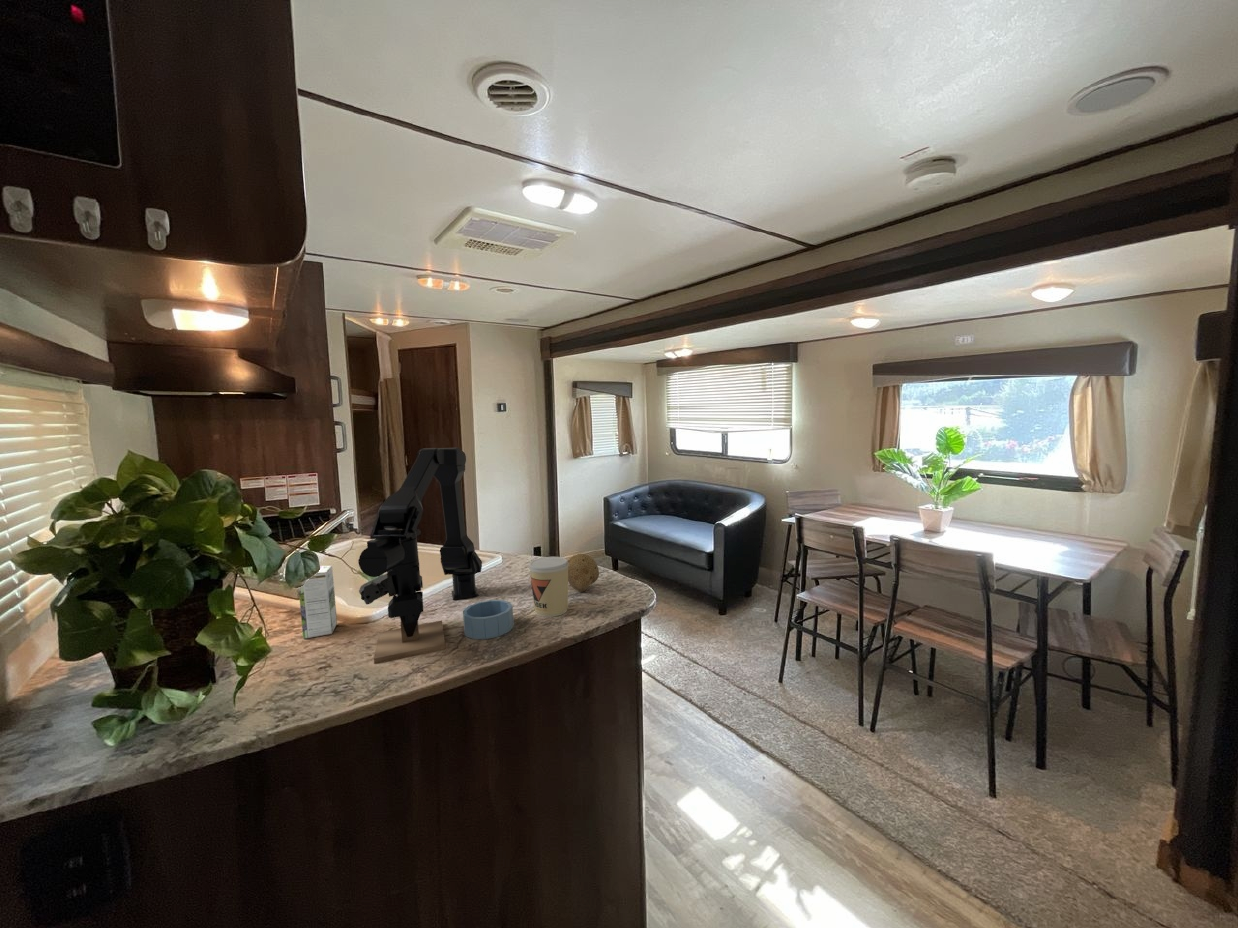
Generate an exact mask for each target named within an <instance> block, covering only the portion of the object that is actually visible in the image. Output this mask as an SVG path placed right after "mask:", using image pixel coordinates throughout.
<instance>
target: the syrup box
mask: <svg viewBox="0 0 1238 928" xmlns="http://www.w3.org/2000/svg"><path fill="white" fill-rule="evenodd" d="M319 566H320V570H319V572H318V573H317V574H316V575H314V576H313V577H312V578H310V579H309V580H308V581H307V582H306V583H305V584H304V585H303V586H301V587H298V597H299V606H300V607H299V608H300V609H299V610H300V617H301V619H300V620H301V629H302V632H301V633H302V639H311V638H317V637H323V636H326V635H333V633H334V631H335V628H336V627H337V625H338V617H337V606H336V595H335V594H336V593H335V583H334V572H333V570H334V569H333V565H319Z"/></svg>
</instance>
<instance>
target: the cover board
mask: <svg viewBox="0 0 1238 928" xmlns="http://www.w3.org/2000/svg"><path fill="white" fill-rule="evenodd" d="M443 625H444V624H443V620H437V621H433V622H426V623H421V624H419V621H418V622H417V625H416V628H415V631H414V634H413V636H412V637H407V635H406V632H405V630H404V627H403V624H402V621H401V620H400V628H399V627H398V628H395V629H389V630H384V631H379V632H378V636H377V640H376V645H375V650H374V656H373V664H380V663H384V662H388V661H393V660H398V659H403V658H408V657H413V656H416V655H417V656H419V655H421V654H426V653H427V654H428V653H431V652H436V651H442V650H445V649H446V643H445V634H444V626H443Z"/></svg>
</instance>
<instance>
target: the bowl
mask: <svg viewBox="0 0 1238 928" xmlns="http://www.w3.org/2000/svg"><path fill="white" fill-rule="evenodd" d="M513 610H514V608H513V604H512V603H511V602H510V601H507V600H504V599H489V600H482V601H478V602H475V603H472V604H470V605H468V606H467V607H465V609H463V610H462V617H463V618H462V619H463V632H464V636H465V637H467V638H470V639H473V640H488V639H489V640H490V639H493V638H498V637H501V636H503V635H505V634H507V633H509V632H510V631H511V630H512V629H513V628H514V626H515V622H514V611H513Z"/></svg>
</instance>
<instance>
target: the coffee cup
mask: <svg viewBox="0 0 1238 928" xmlns="http://www.w3.org/2000/svg"><path fill="white" fill-rule="evenodd" d="M567 561H568V560H567V558H564V557H563V556H562V557H561V556H545V557H539V558H535V559H533V560H531V561H530V563H529V565H528V570H529V576H530V577H529V578H530V584H531V592H532V598H533V606H534V612H535V614H536V615H537V616H539V617H543V618H552V617H553V618H554V617H558V616H562V615H564V614H565V613H566V612H567V611H568V603H569V601H568V599H569V597H568V596H569V595H568V594H569V582H568V565H569V564H568V562H567Z"/></svg>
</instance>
